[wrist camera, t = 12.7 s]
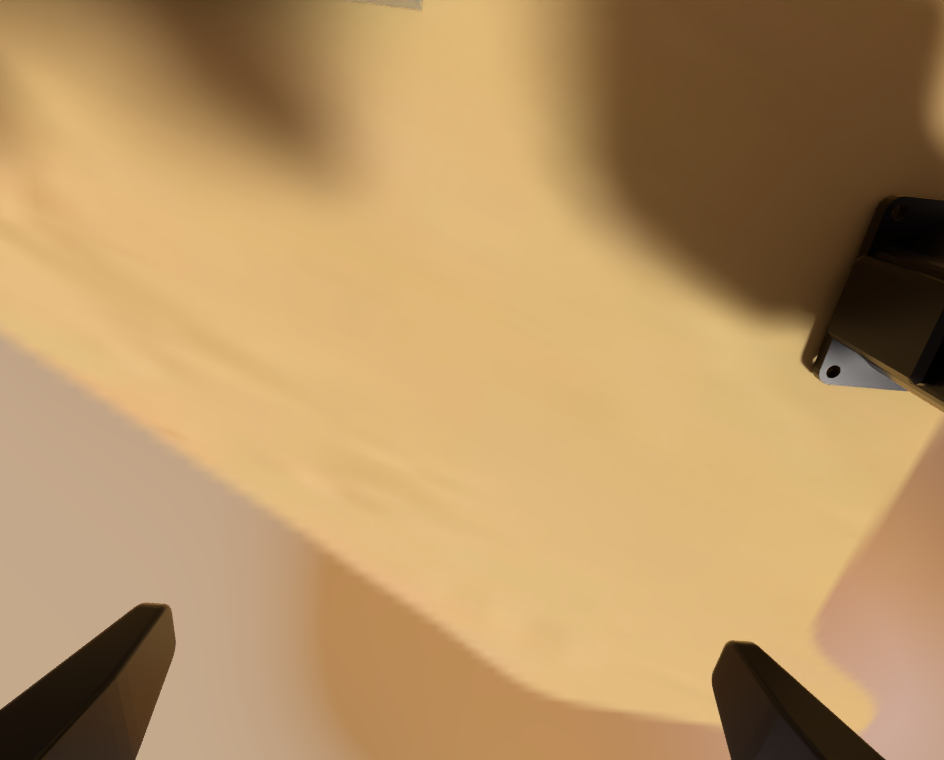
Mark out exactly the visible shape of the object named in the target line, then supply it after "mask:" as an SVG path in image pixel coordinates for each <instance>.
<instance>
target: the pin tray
mask: <svg viewBox="0 0 944 760" xmlns="http://www.w3.org/2000/svg"><path fill="white" fill-rule="evenodd" d="M346 1H353V2H361V3H369V4H376V5H384V6H391V7H399V8H406V9H414V10H421V11H422V1H423V0H346Z"/></svg>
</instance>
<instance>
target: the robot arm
mask: <svg viewBox="0 0 944 760" xmlns="http://www.w3.org/2000/svg"><path fill="white" fill-rule="evenodd" d="M897 206H899V212H898V213H897V215H896V216H894V217H893V218H892V217H891V215H892V211H893V210H894V208H895V207H897ZM831 366H834V368H833V369H832V371H830V372H829V373H826V371H827V370H828V368H829V367H831ZM813 374H814V376H815V377H816V378H817V379H819V380H820V381H821V382H823V383H825V384H829V385H841V386H852V387H864V388H875V389H887V390H899V391H910V392H911V393H913V394H914V395H916V396H918V397H919V398H921V399H923V400H924V401H926V402H927V403H929V404H931V405H932V406H934V407H936V408H937V409H939V410H941V411H942V412H944V200H941V199H932V198H924V197H915V196H906V195H891V196H888V197H886V198H885V199H884V200H883V201H881V202H880V204H879V205H878V207H877V209H876V211H875V213H874V216H873V218H872V221H871V223H870V226H869V228H868V231H867V233H866V236H865V238H864V241H863V243H862V246H861V248H860V251H859V253H858V256H857V258H856V261H855V262H854V264H853V267H852V270H851V272H850V275H849V277H848V280H847V282H846V285H845V287H844V290H843V292H842V295H841V297H840V300H839V302H838V305H837V307H836V310H835V312H834V315H833V317H832V320H831V322H830V325H829V327H828V331H827V334H826V336H825V339H824V341H823V344H822V346H821V349H820V351H819V354H818V356H817V359H816V361H815V364H814V366H813ZM175 644H176V640H175V632H174V625H173V618H172V611H171V608H170V607H169V605H167V604H159V603H142V604H139V605H137V606H136V607H134V608H133V609H132V610H130V611H129V612H128V613H127V614H125V615H124V616H123V617H121V618H120V619H119V620H117V621H116V622H115V623H113V624H112V625H111V626H110V627H108V628H107V629H106V630H104V631H103V632H102V633H100V634H99V635H98V636H96V637H95V638H94V639H92V640H91V641H90V642H88V643H87V644H86V645H85V646H83V647H82V648H81V649H79V650H78V651H77V652H75V653H74V654H73V655H71V656H70V657H69V658H68V659H66V660H65V661H64V662H62V663H61V664H60V665H58V666H57V667H56V668H54V669H53V670H52V671H50V672H49V673H48V674H46V675H45V676H44V677H43V678H41V679H40V680H39V681H37V682H36V683H35V684H33V685H32V686H31V687H29V689H27V690H26V691H24V692H23V693H22V694H20V695H19V696H18V697H16V698H15V699H14V700H12V701H11V702H10V703H8V704H7V705H6V706H4V707H3V708H2V709H1V710H0V760H135V759H136V756H137V754H138V751H139V749H140V746H141V743H142V741H143V738H144V735H145V733H146V730H147V727H148V724H149V722H150V719H151V716H152V713H153V711H154V708H155V705H156V702H157V700H158V697H159V694H160V691H161V689H162V686H163V683H164V681H165V678H166V675H167V672H168V669H169V667H170V664H171V661H172V658H173V655H174V651H175ZM712 687H713V692H714V696H715V699H716V703H717V707H718V711H719V715H720V719H721V722H722V726H723V730H724V734H725V737H726V741H727V745H728V749H729V753H730V757H731V760H885V759H884V758H883V757H882V756H881V755H880V754H879V753H877V752H876V751H875V750H874V749H873V748H872V747H871V746H870V745H868V744H867V743H866V742H865V741H864V740H863V739H862V738H861V737H860V736H858V735H857V734H856V733H855V732H854V731H853V730H852V729H851V728H849V727H848V726H847V725H846V724H845V723H844V722H843V721H842V720H841V719H839V718H838V717H837V716H836V715H835V714H834V713H833V712H832V711H830V710H829V709H828V708H827V707H826V706H825V705H824V704H823V703H821V702H820V701H819V700H818V699H817V698H816V697H815V696H814V695H813V694H811V693H810V692H809V691H808V690H807V689H806V688H805V687H804V686H802V685H801V684H800V683H799V682H798V681H797V680H796V679H795V678H793V677H792V676H791V675H790V674H789V673H788V672H787V671H786V670H785V669H783V668H782V667H781V666H780V665H779V664H778V663H777V662H776V661H774V660H773V659H772V658H771V657H770V656H769V655H768V654H767V653H765V652H764V651H763V650H762V649H761V648H760V647H759V646H757V645H756V644H754V643H752V642H748V641H733V640H732V641H729V642H727V643H726V644H725V646H724V648H723V650H722V653H721V655H720V657H719V659H718V661H717V664H716V666H715V668H714V670H713V674H712Z"/></svg>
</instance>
